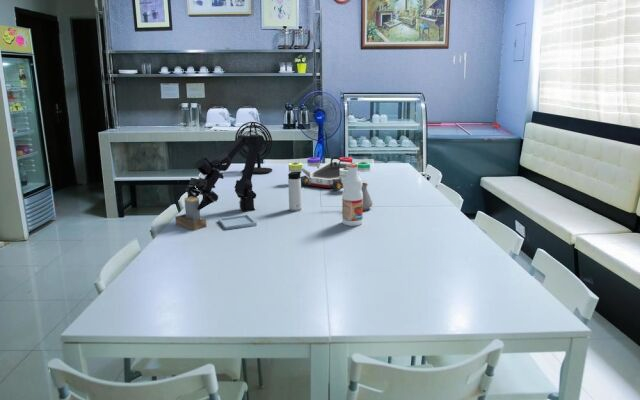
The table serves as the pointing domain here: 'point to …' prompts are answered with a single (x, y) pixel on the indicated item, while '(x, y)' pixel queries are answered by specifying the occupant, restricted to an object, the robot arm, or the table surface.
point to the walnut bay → (190, 222)
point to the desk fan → (258, 169)
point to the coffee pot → (366, 197)
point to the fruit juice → (352, 197)
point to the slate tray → (237, 222)
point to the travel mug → (294, 191)
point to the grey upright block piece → (192, 208)
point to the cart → (327, 171)
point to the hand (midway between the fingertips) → (192, 208)
